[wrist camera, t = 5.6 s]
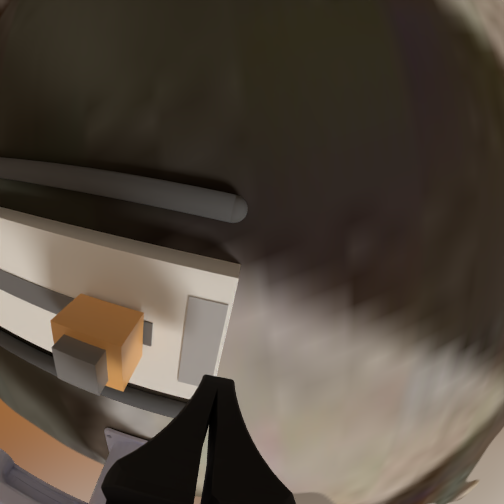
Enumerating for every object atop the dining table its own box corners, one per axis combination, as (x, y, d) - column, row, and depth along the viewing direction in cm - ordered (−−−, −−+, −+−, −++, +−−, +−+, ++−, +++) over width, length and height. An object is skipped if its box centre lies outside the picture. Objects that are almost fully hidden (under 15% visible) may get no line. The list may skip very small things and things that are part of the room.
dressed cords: (203, 414, 20) (200, 427, 18) (-6, 333, 19) (-14, 340, 17) (250, 196, 15) (250, 199, 14) (-20, 154, 14) (-32, 156, 13)
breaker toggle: (142, 355, 15) (115, 407, 11) (83, 335, 15) (47, 379, 11) (144, 312, 15) (110, 362, 10) (80, 293, 14) (37, 332, 10)
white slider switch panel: (213, 383, 19) (210, 404, 17) (-16, 299, 18) (-30, 308, 16) (241, 264, 16) (238, 279, 14) (-25, 200, 15) (-42, 205, 13)
